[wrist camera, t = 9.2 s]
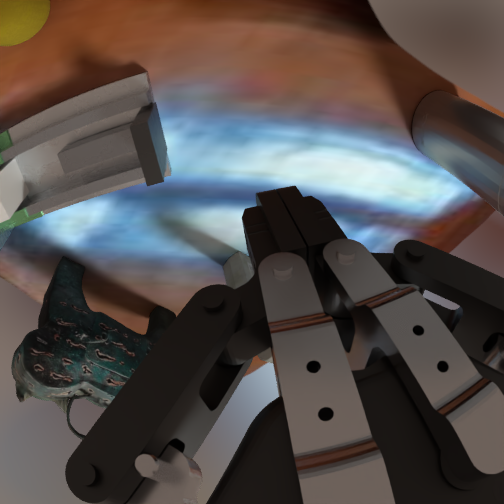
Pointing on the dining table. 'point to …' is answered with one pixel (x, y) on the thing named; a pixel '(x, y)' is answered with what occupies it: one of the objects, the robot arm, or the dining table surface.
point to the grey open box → (65, 133)
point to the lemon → (21, 19)
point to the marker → (11, 189)
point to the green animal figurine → (80, 347)
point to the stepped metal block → (123, 146)
